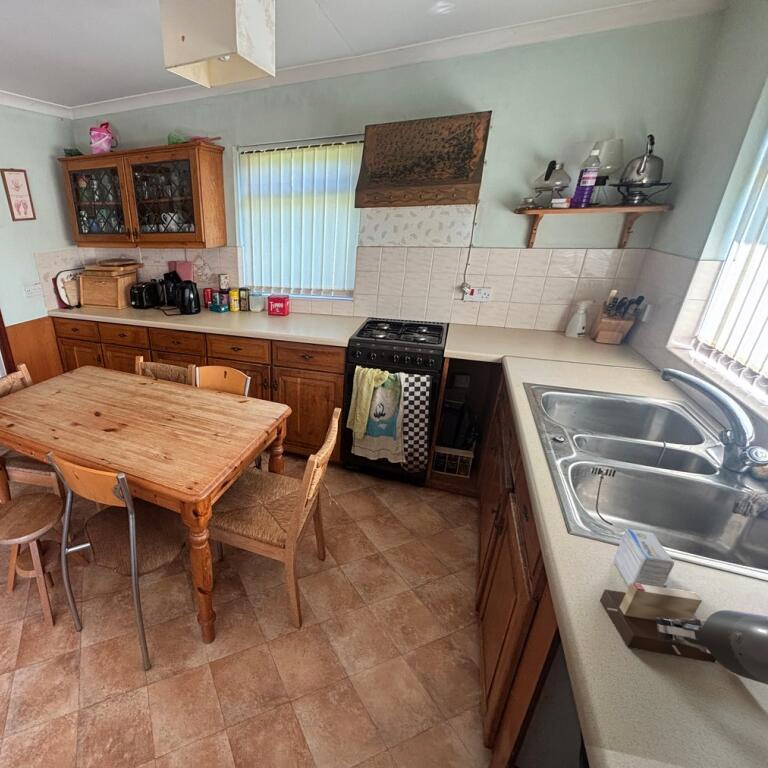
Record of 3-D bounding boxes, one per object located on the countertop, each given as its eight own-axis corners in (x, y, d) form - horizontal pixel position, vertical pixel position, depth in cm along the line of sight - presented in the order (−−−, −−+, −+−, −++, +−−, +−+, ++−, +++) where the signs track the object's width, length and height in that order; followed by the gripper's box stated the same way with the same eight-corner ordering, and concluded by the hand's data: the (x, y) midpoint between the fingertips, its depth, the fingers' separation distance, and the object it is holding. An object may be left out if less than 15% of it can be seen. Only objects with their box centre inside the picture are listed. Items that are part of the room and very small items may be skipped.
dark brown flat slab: (668, 602, 76) (675, 590, 74) (725, 676, 64) (734, 663, 63) (584, 589, 79) (589, 577, 77) (623, 657, 67) (629, 645, 66)
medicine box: (658, 598, 76) (676, 563, 73) (629, 591, 78) (645, 557, 74) (638, 565, 83) (653, 532, 80) (611, 560, 85) (625, 527, 81)
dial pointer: (681, 617, 70) (695, 591, 67) (687, 625, 68) (703, 599, 66) (619, 607, 72) (631, 581, 69) (624, 615, 70) (637, 589, 68)
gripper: (711, 675, 49) (619, 644, 64) (855, 702, 46) (721, 662, 61) (697, 605, 51) (611, 591, 67) (832, 626, 48) (710, 606, 64)
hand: (664, 625), depth 64 cm, fingers closed
